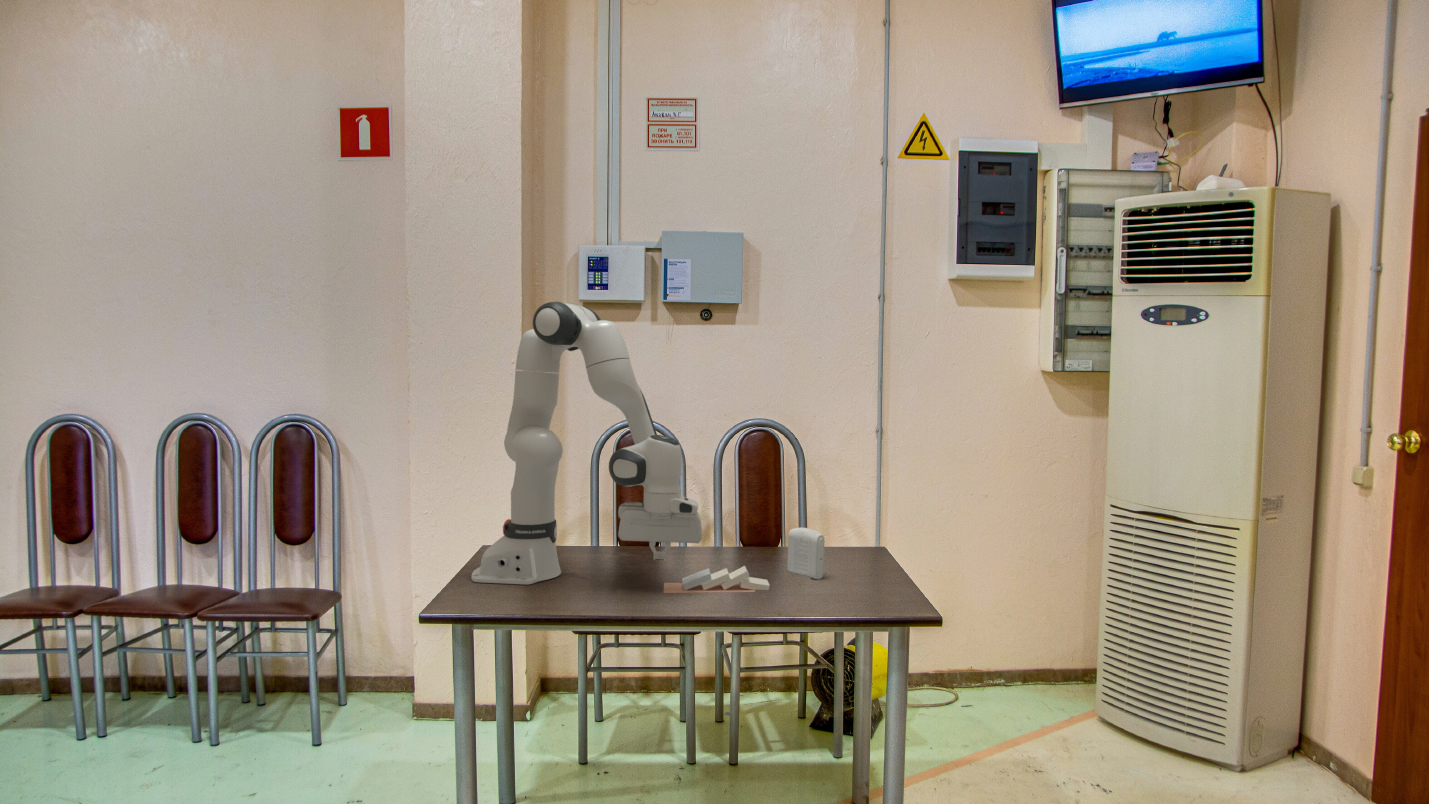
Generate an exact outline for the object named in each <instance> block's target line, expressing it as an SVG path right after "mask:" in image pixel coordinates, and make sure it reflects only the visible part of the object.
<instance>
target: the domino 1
mask: <svg viewBox="0 0 1429 804" xmlns="http://www.w3.org/2000/svg"><path fill="white" fill-rule="evenodd" d="M711 574H712V573H711V571H710V568H709V567H708V568H706V569H702V570H701V571H698V572H695V573H693V574H690V575H687V576H686V577H683V578H681V579H682V582H681V583H683V587H684V589H685V590H688V589H690V588H693V587H695V586H698V585H700V584H703V583H705V582H708V581H710V580H712V577H711Z"/></svg>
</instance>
